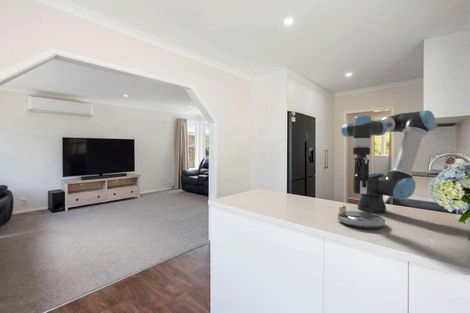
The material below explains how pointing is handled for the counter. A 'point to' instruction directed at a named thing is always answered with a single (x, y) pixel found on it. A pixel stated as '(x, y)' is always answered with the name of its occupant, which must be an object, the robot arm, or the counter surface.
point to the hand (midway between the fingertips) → (360, 192)
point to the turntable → (360, 218)
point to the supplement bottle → (358, 182)
